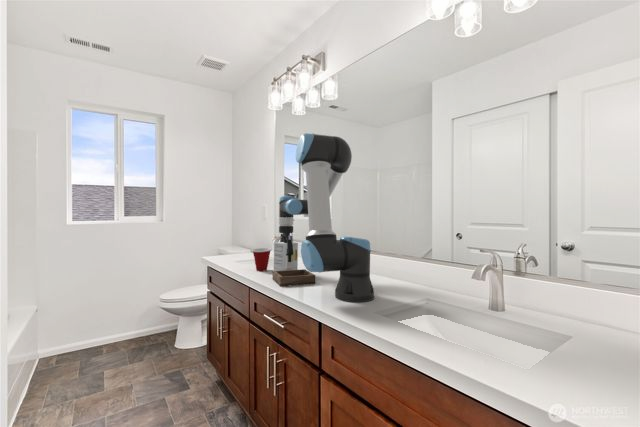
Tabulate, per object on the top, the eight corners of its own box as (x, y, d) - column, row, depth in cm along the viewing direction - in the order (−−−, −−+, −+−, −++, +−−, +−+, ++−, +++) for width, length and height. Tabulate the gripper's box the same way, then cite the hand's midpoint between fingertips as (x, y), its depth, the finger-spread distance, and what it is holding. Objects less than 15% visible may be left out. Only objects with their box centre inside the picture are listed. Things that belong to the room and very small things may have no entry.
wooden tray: (315, 283, 140) (315, 275, 140) (280, 286, 134) (280, 277, 134) (304, 277, 154) (304, 269, 154) (272, 279, 148) (272, 271, 148)
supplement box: (286, 276, 155) (287, 243, 155) (272, 274, 160) (273, 242, 160) (298, 273, 163) (298, 242, 163) (284, 271, 168) (285, 241, 168)
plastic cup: (247, 270, 172) (248, 248, 172) (264, 267, 179) (264, 247, 179) (257, 272, 164) (258, 250, 164) (274, 270, 171) (275, 249, 171)
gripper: (300, 226, 151) (299, 269, 151) (286, 224, 174) (286, 262, 174) (285, 226, 149) (284, 270, 148) (274, 224, 171) (273, 262, 171)
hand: (285, 266), depth 161 cm, fingers closed on supplement box, 12 cm apart
